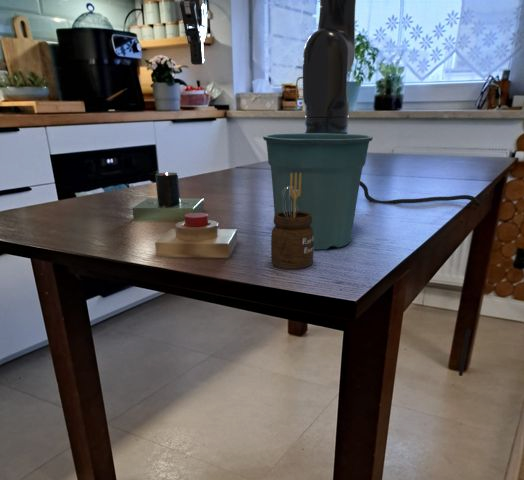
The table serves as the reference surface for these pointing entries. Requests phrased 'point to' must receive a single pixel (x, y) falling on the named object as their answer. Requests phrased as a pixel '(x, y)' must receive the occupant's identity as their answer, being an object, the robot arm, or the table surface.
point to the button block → (197, 241)
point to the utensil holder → (292, 235)
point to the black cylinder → (167, 188)
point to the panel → (166, 210)
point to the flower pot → (319, 179)
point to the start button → (196, 220)
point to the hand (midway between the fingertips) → (197, 64)
